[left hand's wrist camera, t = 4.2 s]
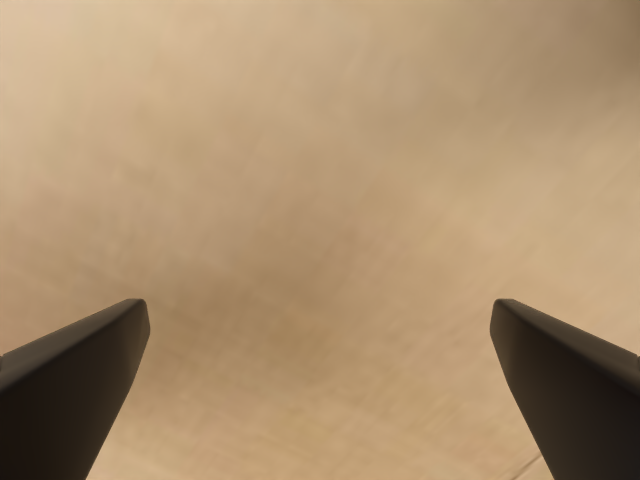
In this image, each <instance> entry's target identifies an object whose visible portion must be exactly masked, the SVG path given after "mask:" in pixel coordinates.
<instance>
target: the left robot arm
mask: <svg viewBox="0 0 640 480" xmlns="http://www.w3.org/2000/svg"><path fill="white" fill-rule="evenodd" d="M149 335H150V323H149V317H148V311H147V305H146V302H145V301H144V300H143V299H126V300H124V301H122V302H120V303H117V304H115V305H113V306H111V307H108V308H106V309H104V310H102V311H100V312H97V313H95V314H93V315H91V316H88V317H86V318H84V319H82V320H79V321H77V322H75V323H73V324H71V325H68V326H66V327H64V328H62V329H59V330H57V331H55V332H53V333H50V334H48V335H46V336H44V337H41V338H39V339H37V340H35V341H33V342H30V343H28V344H26V345H24V346H21V347H19V348H17V349H15V350H12V351H10V352H8V353H6V354H4V355H3V356H2V357H1V356H0V480H86V478H87V476H88V474H89V472H90V470H91V468H92V465H93V463H94V461H95V459H96V457H97V455H98V453H99V451H100V449H101V447H102V445H103V443H104V441H105V439H106V437H107V435H108V433H109V431H110V429H111V427H112V425H113V423H114V421H115V419H116V417H117V415H118V413H119V411H120V409H121V407H122V405H123V403H124V400H125V398H126V396H127V394H128V392H129V390H130V388H131V386H132V383H133V381H134V378H135V375H136V373H137V370H138V367H139V364H140V361H141V358H142V356H143V353H144V350H145V347H146V344H147V341H148V338H149ZM490 335H491V338H492V341H493V344H494V347H495V350H496V353H497V356H498V358H499V361H500V364H501V367H502V370H503V373H504V375H505V378H506V381H507V383H508V386H509V388H510V390H511V392H512V394H513V396H514V398H515V401H516V403H517V405H518V407H519V409H520V411H521V413H522V415H523V417H524V419H525V421H526V423H527V425H528V427H529V429H530V431H531V433H532V435H533V437H534V439H535V441H536V443H537V445H538V447H539V449H540V451H541V453H542V455H543V457H544V459H545V461H546V463H547V465H548V468H549V470H550V472H551V474H552V476H553V478H554V480H640V356H639V357H638V356H637V355H636V354H634V353H632V352H630V351H628V350H625V349H623V348H621V347H619V346H616V345H614V344H612V343H610V342H607V341H605V340H603V339H601V338H599V337H596V336H594V335H592V334H590V333H587V332H585V331H583V330H581V329H578V328H576V327H574V326H572V325H569V324H567V323H565V322H563V321H561V320H558V319H556V318H554V317H552V316H549V315H547V314H545V313H543V312H540V311H538V310H536V309H534V308H532V307H529V306H527V305H525V304H523V303H520V302H518V301H516V300H514V299H497V300H496V301H495V302H494V305H493V311H492V317H491V323H490Z"/></svg>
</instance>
